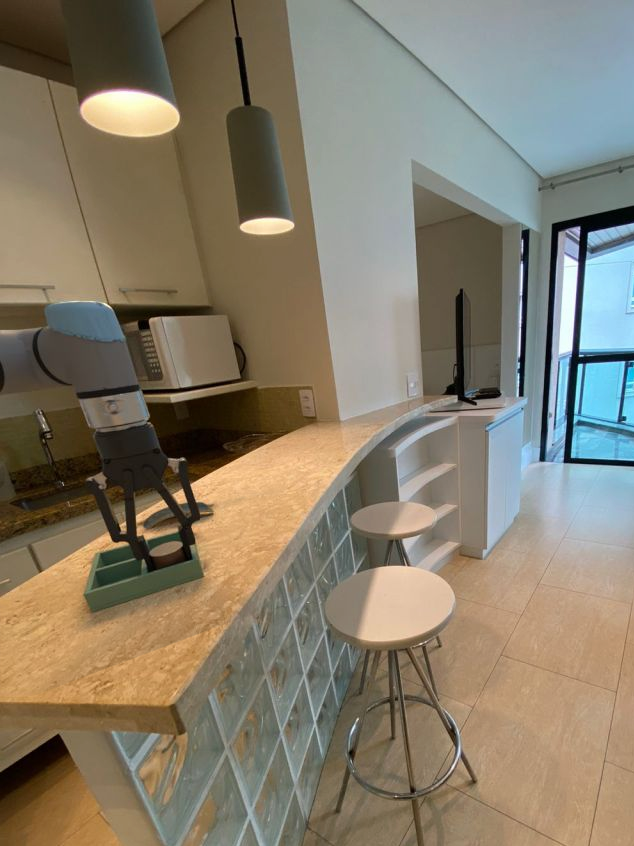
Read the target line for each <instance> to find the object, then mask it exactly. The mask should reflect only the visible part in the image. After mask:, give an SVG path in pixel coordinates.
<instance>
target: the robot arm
mask: <svg viewBox="0 0 634 846" xmlns="http://www.w3.org/2000/svg"><path fill="white" fill-rule="evenodd" d="M43 311H44V315H45V319H46V322H45V324H46V325H47V326H43V327H42V326H41V327H33V328H25V329H0V396H4V395H5V396H7V395H12V394H19V393H29V392H38V391H41V390H49V389H55V388H63V387H73V389H74V392H75V395H76V398H77V399H78V402H79V405H80V407H81V410H82V413H83V415H84V418H85V421H86V423H87V426H88V428H90V429H92V430H95V432H93V435H92V439H93V441H94V443H95V445H96V448H97V451H98V453H99V455H100V458H101V459H100V460H101V461H102V468H101V472H99V473H97V474H95V475H93V476H88V477H87V478H86V480H85V482H84V483H83V484H84V487H85V489H87V490H88V491H89V492H90V494H91V495H92V496H93V497H94V499H95V501H96V504H97V506H98V509H99V511H100V513H101V516H102V520H103V521H104V524H105V527H106V529H107V532H108V534H109V536H110V539H111V541H112V542H113V543H115V544H118V543H127V544H129V545H130V547H131V550H132V552H133V555H134V557H135V559H136V560H137V561H139V560H143V559H144V560H145V563H146V566H147V568H148V571H149V573H150V572H153V571H155V568H154V566H153V563H152V561H151V558H150V555H149V552H150V551H149V549H148V546H147V543H146V541H145V540H146V538H145V535H144V534H141V535H138V529H137V528H138V527H137V511H136V508H137V507H136V492H140V491H142V490H144V489H155V491H156V493H158V494H159V496H160V497H161V498H162V500H163V501H164V503H165V504H166V505H167V507H169V508H170V510H171V511H172V513H173V514H174V515H175V516H174V517H175V519H176V520H177V521H178V523H179V524H178V525H177V531H178V532H179V535H180V538H181V541H182V544H183V546H184V549H185V552H186V555H187V558H188V561H190V560H193V558H192V553H191V549H190V546H191V545H194V544H195V543H196V542H197V541H196V536H195V533H194V530H193V527H192V526H193V524H195V523H196V522H199V521H200V520H201V519H202V515H201V512H199V509H198V506H197V503H196V502H197V500H196V497H195V494H194V492H193V488H192V486H191V483H190V479H189V476H188V475H189V474H188V473H189V472H188V471H189V462H188V460H187V458H185V457H180V458H174V457H173V458H172V457H168V456H167V455H166V454H165V453H164V452H163V450H162V448H161V444H160V442H159V439H158V435H157V433H156V430H155V427H154V425H153V424H152V423H151V422H148V420H149V419H150V418H151V414H150V412H149V408H148V405H147V402H146V399H145V396H144V392H143V390H142V389H141V385H140V384H139V381H138V377H137V374H136V370H135V368H134V364H133V361H132V358H131V353H130V351H129V348H128V343H127V338H126V336H125V334H124V333H123V330H122V328H121V325H120V322H119V320H118V318H117V316H116V313H115V311H114V309H113V308H112V307H111V306H110V305H108V304H107V303H105V302H101V301H93V300H74V301H73V300H72V301H62V302H61V301H60V302H55V303H50V304H49V305H46V306H45V308H44V309H43ZM168 467H170V468H171V469H172V471H173V473H175V474H178V478H179V482H180V485H181V488H182V491H183V494H184V497H185V500H186V503H188V506H189V509H190V512H191V513H187V514H185V512H184V511H183V509H182V508H181V506H180V505H179V504H180V503H179V502H178V501H177V499H176V497H175V496H174V495H173V493H172V492H171V490H170V488H169V486H167V484H166V482H165V481H164V480H163V478H164V475H165V473H166V471H167V468H168ZM107 479H108V480H109V481H111V482H112V483H114V484H116V485H117V486H119V488H121V489H123V499H124V514H125V529H126V530H122V528H121V526H120V523H119V521H118V518H117V516H116V513H115V509H114V507H113V505H112V502H111V500H110V497H109V494H108V492H107V490H106V488H107V486H108V483H107ZM196 544H197V543H196Z"/></svg>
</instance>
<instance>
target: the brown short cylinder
mask: <svg viewBox="0 0 634 846" xmlns="http://www.w3.org/2000/svg"><path fill="white" fill-rule="evenodd" d="M149 555H150V558H151V561H152V563H153V566H154V568H155V571H156V570H160V569H163V568H166V567H170V566H173V565H176V564H180V563H183V562H186V561H188V558H187V555H186V552H185V549H184V546H183V544H182V542H179V541H174V542H168V543H164V544H161V545H159V546H157V547H155V548H153V549H152V550H151V551H150V552H149Z"/></svg>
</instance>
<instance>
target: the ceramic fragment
mask: <svg viewBox="0 0 634 846" xmlns="http://www.w3.org/2000/svg"><path fill="white" fill-rule="evenodd" d="M196 503H197V506H198V509H199V512H200V513H212V514H213V513H214V512H215V510H214V509H213V508H212V507H210V505H208V504H207V503H205V502H202V501H196ZM179 505H180V506H181V508H182V509H183V511H184V512H185V514H186V515H188V514H190V513H191V512H190V509H189V506H188V503H187V502H182V503H179ZM174 517H175V515H174V514H173V513H172V511H171V510H170V508H169V507H168V506H166V507H163V508H160V509H159V510H156V511H155V512H153V513H152V514H151V515H149V516H148V517H147V518H146V519H145V520H144V522H143V524H142V527H143V528H144V529H146V530H149V528H150V529H152V528H153V526H154V527H155V526H157V525H158V524H159V523H162V522H164V521H165V520H168V519H171V518H174Z"/></svg>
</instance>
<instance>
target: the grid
mask: <svg viewBox="0 0 634 846" xmlns="http://www.w3.org/2000/svg"><path fill="white" fill-rule="evenodd" d="M145 541H146V543H147V546H148V549H149V551H151V550H152V549H153V548H155V547H157V546H159V545H161V544H164V543H168V542H174V541H179V542H182V541H181V538H180V535H179V532H178V530H175V531H172V532H167V533H164V534H161V535H156V536H153V537H149V538H145ZM190 549H191V553H192V558H193V560H190V561H186V562H183V563H180V564H176V565H173V566H170V567H166V568H163V569H160V570H156V571H153V572H150V573H149V571H148V568H147V566H146V563H145V560H144V559H143V560H139V561H137V560H136V559H135V557H134V555H133V552H132V550H131V547H130V545H129V544H128V543H127V544H124V545H119V546H117V547H112V548H109V549H105V550H102V551H97V552H94V556H93V559H92V563H91V567H90V571H89V573H88V577H87V581H86V584H85V588H84V592H83V597H84V599H85V601H86V603H87V606H88V608H89V610H90V612H91V613H95V612H98V611H100V610H101V611H102V610H104V609H107V608H110V607H113V606H117V605H120V604H123V603H125V602H129V601H132V600H135V599H138V598H141V597H144V596H148V595H152V594H154V593H157V592H160V591H163V590H166V589H169V588H173V587H177V586H179V585H182V584H185V583H188V582H191V581H195V580H197V579H201V578H204V577H205V575H204V570H203V567H202V562H201V558H200V555H199V551H198V548H197V543H195V544H194V545H191V546H190Z"/></svg>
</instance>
